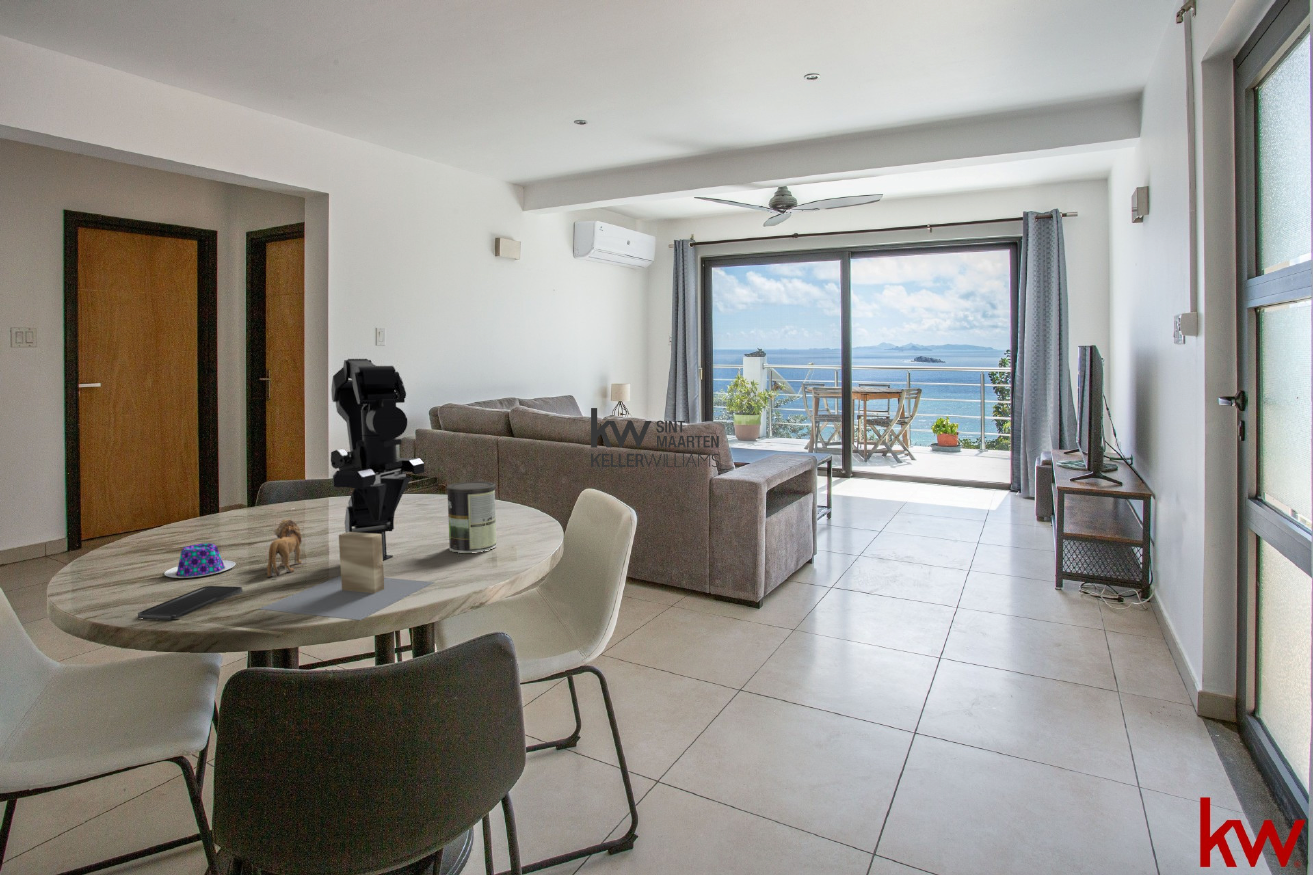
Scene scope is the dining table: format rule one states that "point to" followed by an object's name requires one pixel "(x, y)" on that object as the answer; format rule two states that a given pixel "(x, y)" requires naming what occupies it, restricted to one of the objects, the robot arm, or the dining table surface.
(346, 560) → the maple tile
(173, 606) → the phone
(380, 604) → the rubber mat
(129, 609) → the dining table surface
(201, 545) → the purple patterned hat
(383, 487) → the robot arm
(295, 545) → the lion figurine
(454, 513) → the coffee can
